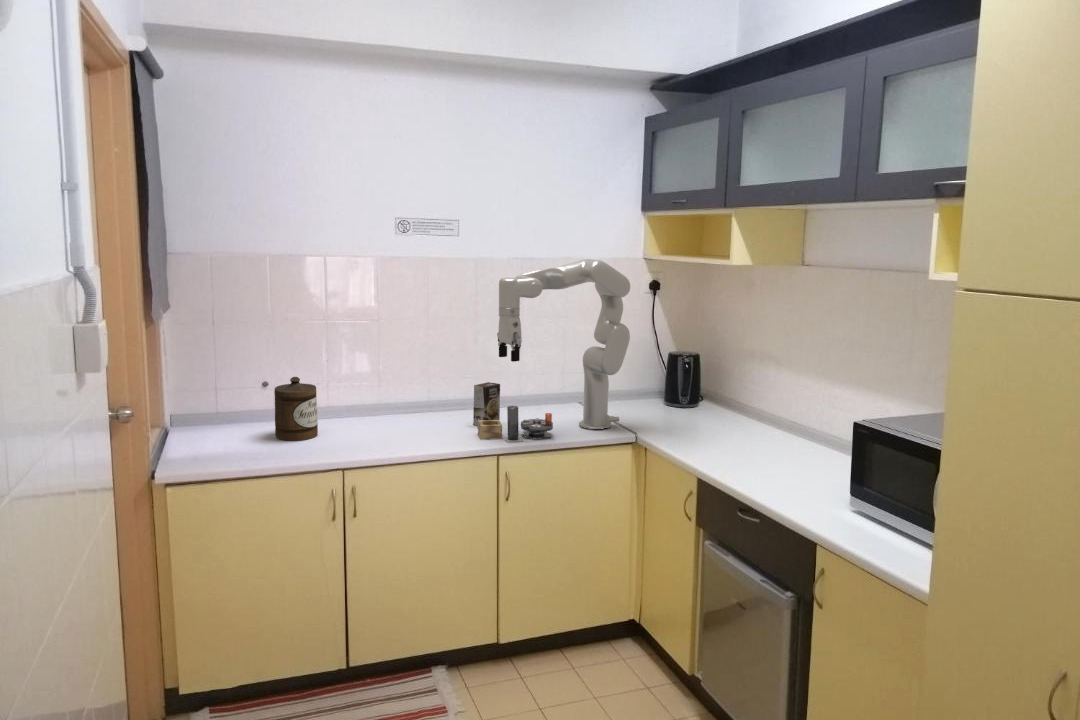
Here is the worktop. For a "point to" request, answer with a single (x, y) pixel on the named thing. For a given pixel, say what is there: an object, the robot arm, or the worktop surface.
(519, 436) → the mat
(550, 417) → the handwheel
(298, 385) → the wooden container
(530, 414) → the worktop surface
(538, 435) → the wheel pedestal
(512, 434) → the dark grey rounded cylinder
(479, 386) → the coffee box
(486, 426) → the eye block
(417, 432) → the worktop surface
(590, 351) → the robot arm
